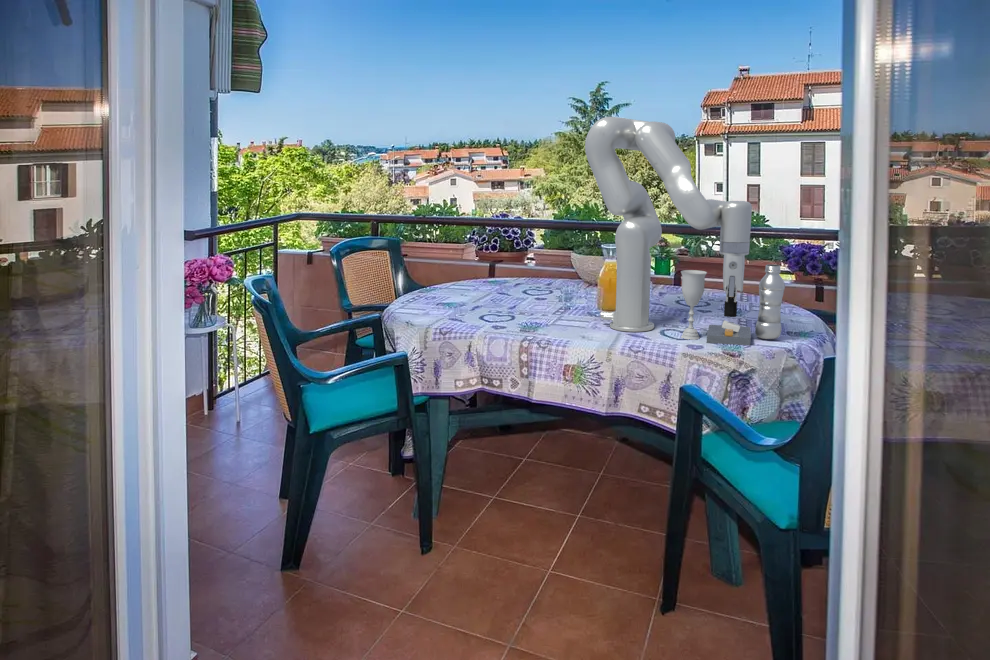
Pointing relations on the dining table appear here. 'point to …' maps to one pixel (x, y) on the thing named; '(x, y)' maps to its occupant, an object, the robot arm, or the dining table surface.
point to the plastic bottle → (770, 303)
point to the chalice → (692, 297)
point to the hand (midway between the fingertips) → (730, 316)
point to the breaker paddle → (730, 326)
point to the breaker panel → (728, 335)
